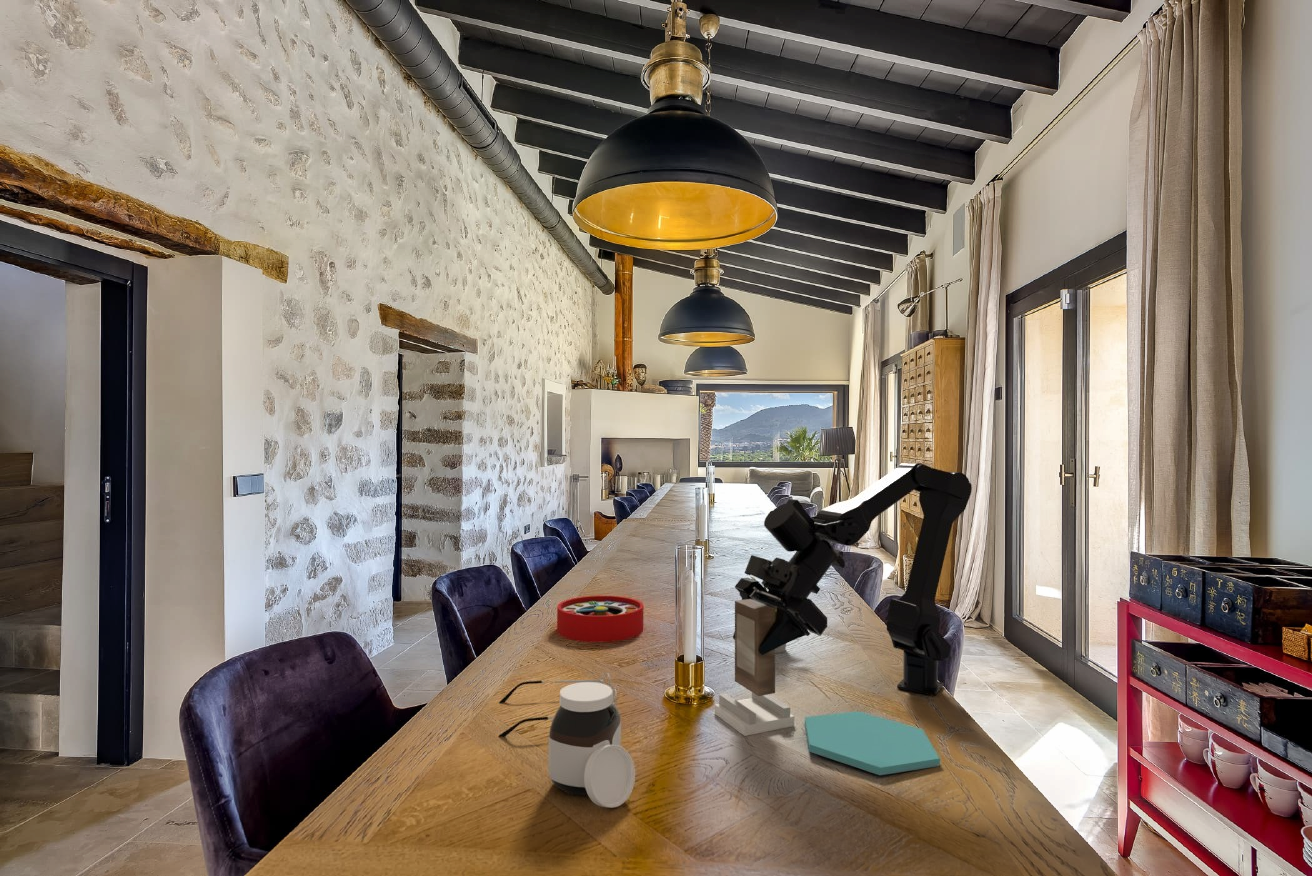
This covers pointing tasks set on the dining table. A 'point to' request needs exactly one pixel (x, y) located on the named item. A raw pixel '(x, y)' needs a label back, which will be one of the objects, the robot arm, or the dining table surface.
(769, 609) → the brown box
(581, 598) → the toy clock
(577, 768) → the spread jar
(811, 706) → the dining table surface
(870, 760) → the plaque
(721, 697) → the display stand
